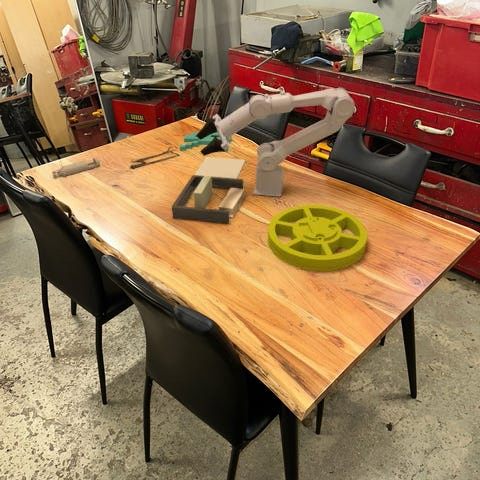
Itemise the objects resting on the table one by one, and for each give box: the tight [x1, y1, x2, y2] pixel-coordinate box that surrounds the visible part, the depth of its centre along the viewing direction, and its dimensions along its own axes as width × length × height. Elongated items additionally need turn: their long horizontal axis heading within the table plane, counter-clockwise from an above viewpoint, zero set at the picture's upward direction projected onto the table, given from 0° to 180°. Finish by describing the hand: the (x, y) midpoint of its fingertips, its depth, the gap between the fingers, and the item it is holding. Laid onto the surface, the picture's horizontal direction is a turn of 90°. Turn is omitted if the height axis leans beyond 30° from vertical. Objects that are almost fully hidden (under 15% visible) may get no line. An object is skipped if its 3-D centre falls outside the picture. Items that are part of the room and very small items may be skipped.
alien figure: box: [179, 130, 233, 153], centre depth 186 cm, size 20×2×20 cm
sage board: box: [193, 176, 214, 209], centre depth 142 cm, size 2×12×7 cm, turn 168°
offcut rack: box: [171, 174, 244, 225], centre depth 143 cm, size 18×22×4 cm
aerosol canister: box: [51, 157, 101, 178], centre depth 164 cm, size 18×5×6 cm, turn 127°
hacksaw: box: [129, 146, 181, 170], centre depth 174 cm, size 24×10×2 cm, turn 125°
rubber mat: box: [194, 156, 247, 179], centre depth 164 cm, size 16×20×1 cm
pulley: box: [267, 204, 368, 272], centre depth 124 cm, size 28×28×5 cm
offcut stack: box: [218, 188, 247, 220], centre depth 142 cm, size 6×16×4 cm, turn 165°
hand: (200, 145), depth 141 cm, fingers open, 7 cm apart
